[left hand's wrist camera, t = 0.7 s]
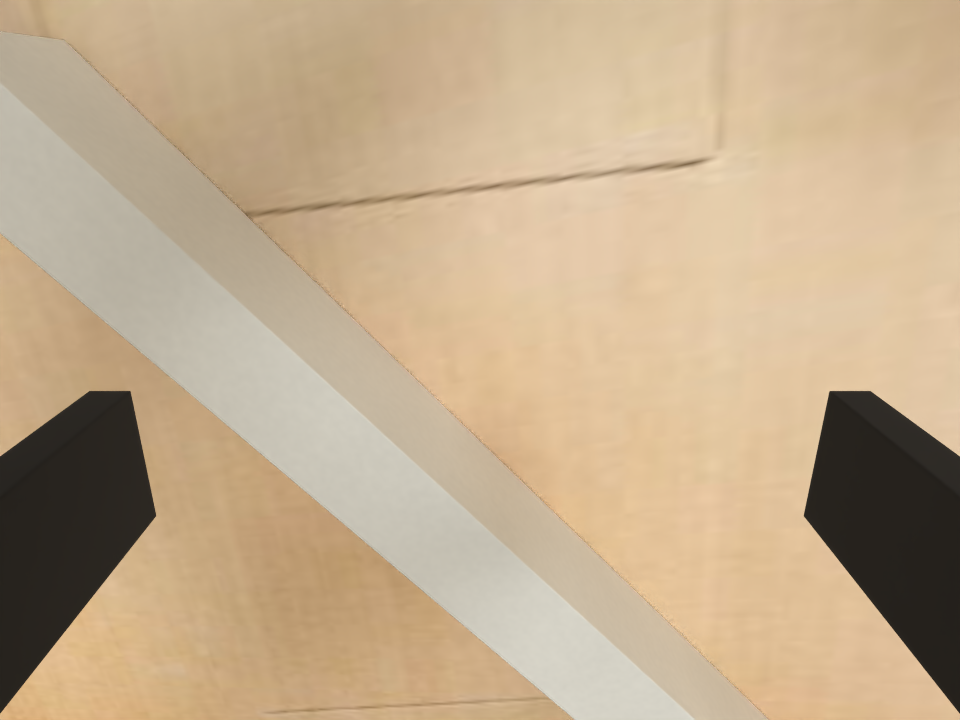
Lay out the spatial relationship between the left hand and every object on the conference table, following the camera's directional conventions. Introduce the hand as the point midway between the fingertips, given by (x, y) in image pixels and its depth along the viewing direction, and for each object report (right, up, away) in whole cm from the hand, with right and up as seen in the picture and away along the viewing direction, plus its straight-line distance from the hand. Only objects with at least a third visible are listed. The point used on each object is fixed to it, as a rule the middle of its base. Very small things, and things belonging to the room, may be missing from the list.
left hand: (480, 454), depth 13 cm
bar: (+2, -9, +29) cm, 30 cm away
